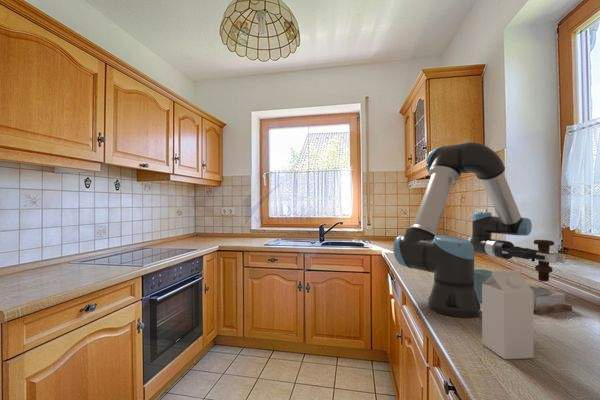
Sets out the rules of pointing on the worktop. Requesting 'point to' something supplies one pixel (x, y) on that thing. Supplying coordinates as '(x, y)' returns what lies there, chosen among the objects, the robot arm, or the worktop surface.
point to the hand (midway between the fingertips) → (559, 259)
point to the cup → (480, 281)
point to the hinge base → (548, 301)
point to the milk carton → (508, 315)
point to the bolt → (543, 266)
